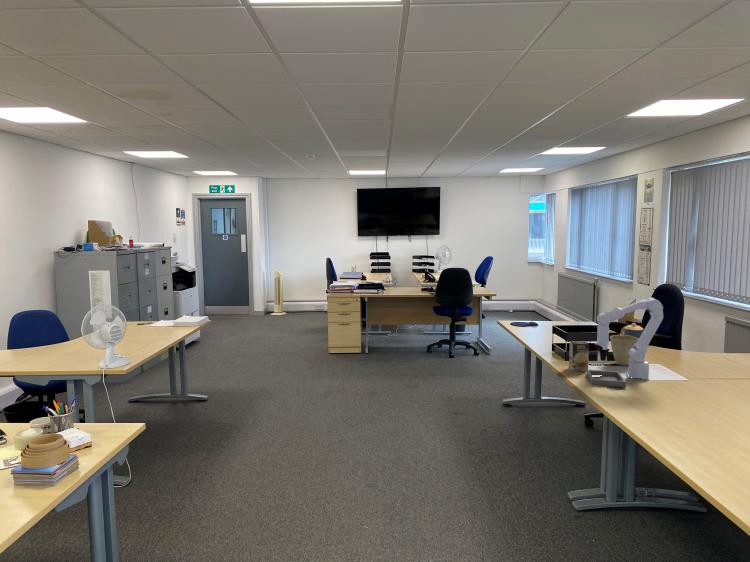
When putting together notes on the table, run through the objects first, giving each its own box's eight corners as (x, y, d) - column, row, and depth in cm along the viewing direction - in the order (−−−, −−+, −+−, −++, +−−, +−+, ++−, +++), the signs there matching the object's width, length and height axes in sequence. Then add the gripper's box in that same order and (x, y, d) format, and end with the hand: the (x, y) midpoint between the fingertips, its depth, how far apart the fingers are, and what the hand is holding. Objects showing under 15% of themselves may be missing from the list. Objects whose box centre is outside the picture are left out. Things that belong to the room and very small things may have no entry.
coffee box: (571, 371, 271) (572, 343, 270) (568, 367, 278) (569, 341, 276) (588, 371, 270) (589, 343, 269) (584, 368, 277) (585, 341, 275)
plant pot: (604, 360, 291) (605, 335, 290) (629, 360, 291) (630, 334, 289) (616, 367, 276) (617, 340, 275) (642, 367, 276) (643, 340, 274)
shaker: (605, 361, 264) (606, 350, 263) (607, 363, 260) (607, 353, 259) (596, 361, 265) (597, 350, 265) (598, 363, 261) (598, 352, 260)
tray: (618, 376, 259) (618, 371, 259) (625, 387, 242) (626, 381, 242) (586, 375, 264) (586, 369, 263) (591, 385, 246) (592, 379, 246)
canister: (626, 345, 327) (627, 320, 325) (647, 348, 317) (648, 322, 315) (618, 348, 319) (619, 323, 317) (639, 352, 309) (640, 325, 307)
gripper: (593, 332, 269) (592, 355, 270) (597, 337, 255) (596, 362, 256) (606, 332, 267) (606, 356, 268) (611, 338, 253) (610, 363, 254)
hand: (602, 359), depth 262 cm, fingers closed on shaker, 4 cm apart
